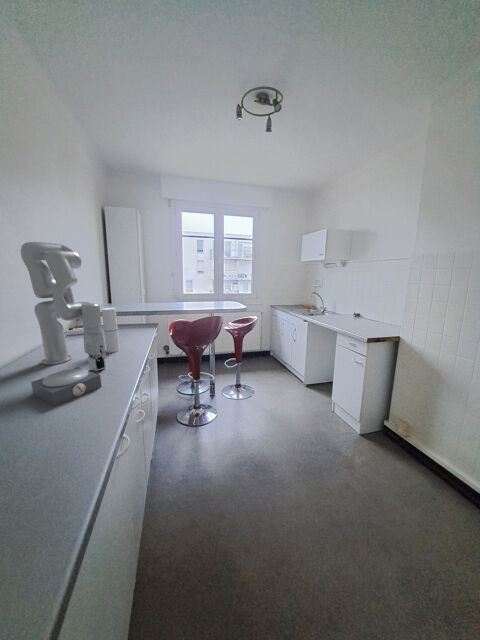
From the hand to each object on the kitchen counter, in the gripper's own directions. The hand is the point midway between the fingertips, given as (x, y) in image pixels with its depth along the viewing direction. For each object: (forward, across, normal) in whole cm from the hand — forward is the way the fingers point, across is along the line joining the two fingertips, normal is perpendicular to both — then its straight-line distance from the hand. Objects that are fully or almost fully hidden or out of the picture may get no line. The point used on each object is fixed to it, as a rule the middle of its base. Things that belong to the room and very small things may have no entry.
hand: (97, 366), depth 120 cm
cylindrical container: (+2, -20, +21) cm, 29 cm away
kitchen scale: (+1, +10, -18) cm, 21 cm away
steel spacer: (+1, 0, 0) cm, 1 cm away
